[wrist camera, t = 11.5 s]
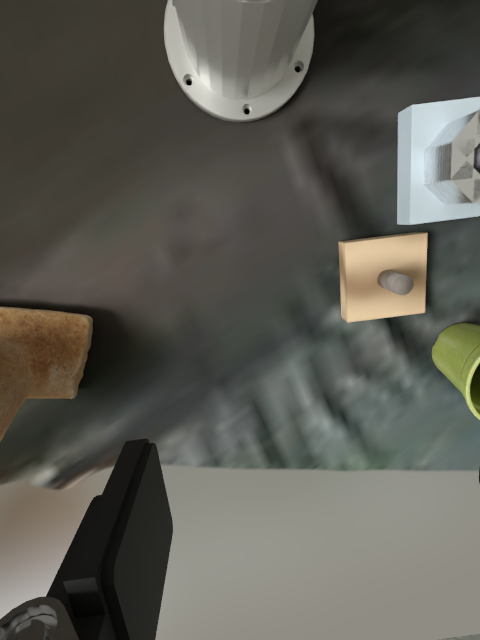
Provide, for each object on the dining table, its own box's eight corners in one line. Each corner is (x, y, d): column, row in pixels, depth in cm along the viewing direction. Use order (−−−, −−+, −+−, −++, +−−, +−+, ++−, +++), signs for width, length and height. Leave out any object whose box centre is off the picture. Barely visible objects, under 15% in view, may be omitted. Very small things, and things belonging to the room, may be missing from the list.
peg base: (398, 113, 33) (441, 87, 26) (504, 100, 33) (574, 71, 26) (397, 224, 36) (436, 225, 29) (495, 212, 36) (556, 211, 29)
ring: (464, 102, 30) (498, 85, 27) (514, 156, 32) (554, 148, 28) (407, 170, 32) (433, 163, 28) (458, 218, 33) (489, 219, 29)
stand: (338, 241, 36) (358, 245, 30) (416, 232, 36) (449, 234, 31) (341, 317, 38) (360, 333, 33) (414, 307, 38) (445, 322, 33)
